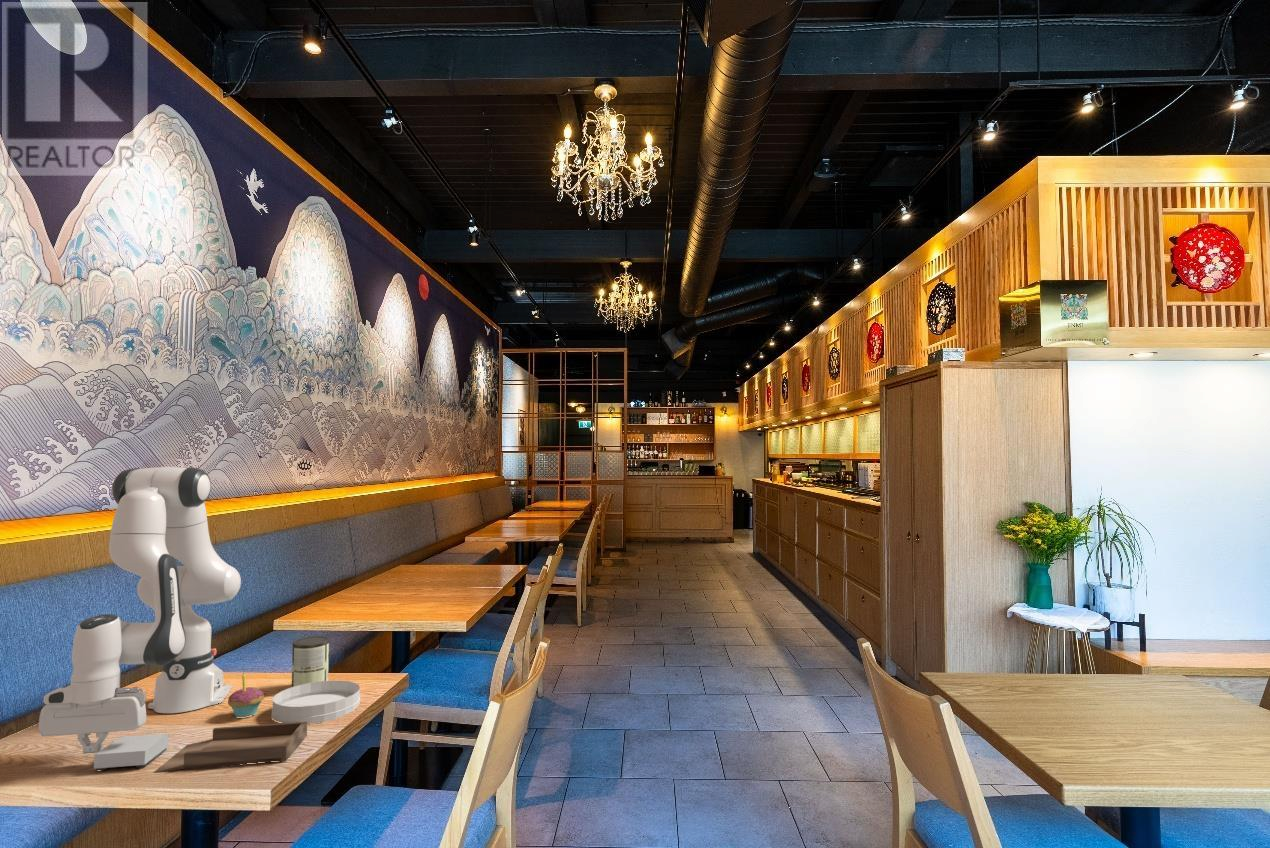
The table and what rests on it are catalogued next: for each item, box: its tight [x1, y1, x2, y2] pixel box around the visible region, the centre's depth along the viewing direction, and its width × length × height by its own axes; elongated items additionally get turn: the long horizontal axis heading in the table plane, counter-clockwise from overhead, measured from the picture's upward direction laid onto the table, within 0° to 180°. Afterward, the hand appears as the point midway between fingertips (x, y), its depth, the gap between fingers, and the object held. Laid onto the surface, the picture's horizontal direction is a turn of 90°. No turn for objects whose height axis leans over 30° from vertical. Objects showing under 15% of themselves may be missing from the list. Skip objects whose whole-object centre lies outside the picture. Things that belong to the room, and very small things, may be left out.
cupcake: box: [227, 671, 265, 718], centre depth 179 cm, size 9×8×12 cm
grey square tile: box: [93, 732, 170, 772], centre depth 150 cm, size 10×10×4 cm
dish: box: [271, 680, 361, 724], centre depth 182 cm, size 22×22×5 cm
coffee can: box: [291, 635, 330, 687], centre depth 202 cm, size 10×10×14 cm
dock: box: [153, 721, 308, 773], centre depth 154 cm, size 15×27×4 cm, turn 100°
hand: (92, 752), depth 149 cm, fingers closed
